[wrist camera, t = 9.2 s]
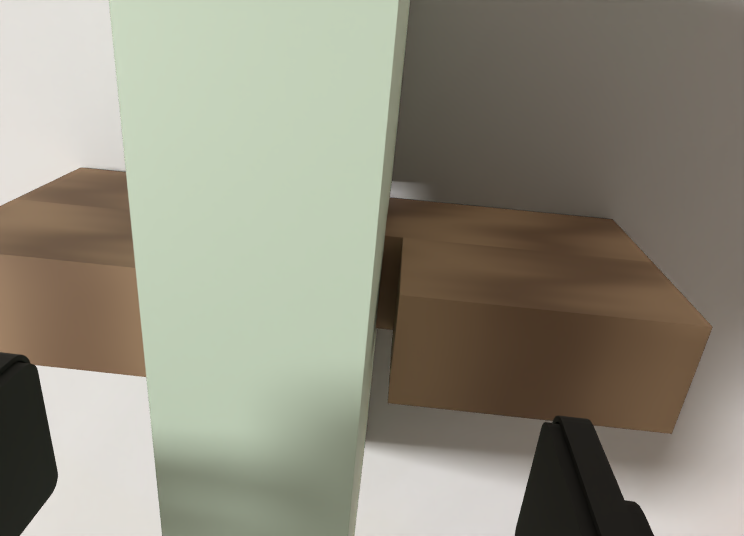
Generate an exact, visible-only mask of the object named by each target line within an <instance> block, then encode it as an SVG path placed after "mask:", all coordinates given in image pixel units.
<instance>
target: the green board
mask: <svg viewBox="0 0 744 536" xmlns="http://www.w3.org/2000/svg"><path fill="white" fill-rule="evenodd" d="M109 7H110V17H111V27H112V37H113V47H114V57H115V67H116V77H117V87H118V97H119V107H120V117H121V127H122V137H123V147H124V157H125V167H126V177H127V187H128V197H129V207H130V218H131V228H132V238H133V248H134V258H135V268H136V278H137V288H138V298H139V308H140V318H141V328H142V338H143V348H144V358H145V368H146V378H147V388H148V398H149V408H150V418H151V428H152V438H153V448H154V458H155V468H156V478H157V488H158V498H159V508H160V518H161V528H162V536H354V534H355V525H356V517H357V508H358V499H359V491H360V482H361V474H362V465H363V456H364V448H365V439H366V429H367V419H368V409H369V400H370V390H371V380H372V370H373V360H374V351H375V341H376V331H377V328H376V320H377V310H378V300H379V290H380V280H381V270H382V261H383V251H384V241H385V231H386V221H387V213H388V205H389V198H390V191H391V183H392V174H393V164H394V155H395V145H396V135H397V125H398V115H399V106H400V96H401V86H402V76H403V66H404V57H405V47H406V37H407V27H408V17H409V8H410V0H109Z"/></svg>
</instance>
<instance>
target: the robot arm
mask: <svg viewBox="0 0 744 536" xmlns="http://www.w3.org/2000/svg"><path fill="white" fill-rule="evenodd" d="M57 478H58V472H57V466H56V461H55V456H54V451H53V446H52V441H51V436H50V431H49V426H48V420H47V415H46V410H45V405H44V400H43V395H42V390H41V385H40V379H39V374H38V370H37V367H36V366H35V365H34V364H31V363H30V360H29V359H28V358H27V357H26V356H24V355H21V354H12V353H3V352H0V536H20V535H21V533H22V532H23V531H24V529H25V528H26V527H27V525H28V524H29V523H30V522H31V520H32V519H33V518H34V516H35V515H36V514H37V512H38V511H39V510H40V509H41V507H42V506H43V505H44V503H45V502H46V501H47V499H48V498H49V497H50V496H51V494H52V492H53V491H54V489H55V486H56V483H57ZM515 536H654V535H653V532H652V530H651V528H650V526H649V523H648V521H647V519H646V517H645V514H644V513H643V511H642V509H641V508H640V506H639V505H638V504H637V503H635V502H633V501H625V500H624V498H623V496H622V493H621V491H620V488H619V486H618V484H617V481H616V479H615V476H614V474H613V472H612V469H611V467H610V464H609V462H608V460H607V457H606V455H605V453H604V450H603V448H602V445H601V443H600V441H599V438H598V436H597V433H596V431H595V429H594V426H593V424H592V422H591V421H590V420H589V419H585V418H576V417H568V416H559V415H558V416H555V418H554V419H553V422H552V423H547V422H545V423H544V424H543V425H542V428H541V432H540V436H539V440H538V444H537V447H536V451H535V455H534V459H533V463H532V467H531V471H530V475H529V479H528V483H527V487H526V491H525V495H524V499H523V502H522V506H521V510H520V514H519V518H518V522H517V526H516V531H515Z"/></svg>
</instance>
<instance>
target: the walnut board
mask: <svg viewBox="0 0 744 536" xmlns="http://www.w3.org/2000/svg"><path fill="white" fill-rule="evenodd" d="M376 328H380V329H390V330H393V335H392V349H391V363H390V378H389V392H388V403H392V404H401V405H410V406H420V407H429V408H438V409H447V410H457V411H466V412H475V413H484V414H494V415H503V416H512V417H521V418H531V419H540V420H549V421H553V419H554V418H555V416H558V415H559V416H568V417H576V418H585V419H589V420H590V421H591V422H592V424H593V425H596V426H605V427H614V428H623V429H633V430H642V431H651V432H660V433H670V434H672V432H673V429H674V426H675V424H676V421H677V419H678V416H679V413H680V411H681V408H682V406H683V403H684V400H685V398H686V395H687V393H688V390H689V387H690V385H691V382H692V379H693V377H694V374H695V372H696V369H697V366H698V364H699V361H700V359H701V356H702V353H703V351H704V348H705V345H706V343H707V340H708V338H709V335H710V332H711V330H712V326H711V325H710V324H709V323H708V321H707V320H706V319H705V318H704V317H703V316H702V315H701V314H700V313H699V312H698V311H697V310H696V309H695V307H694V306H693V305H692V304H691V303H690V302H689V301H688V300H687V299H686V298H685V297H684V296H683V295H682V293H681V292H680V291H679V290H678V289H677V288H676V287H675V286H674V285H673V284H672V283H671V282H670V281H669V279H668V278H667V277H666V276H665V275H664V274H663V273H662V272H661V271H660V270H659V269H658V268H657V267H656V265H655V264H654V263H653V262H652V261H651V260H650V259H649V258H648V257H647V256H646V255H645V254H644V253H643V251H642V250H641V249H640V248H639V247H638V246H637V245H636V244H635V243H634V242H633V241H632V240H631V239H630V237H629V236H628V235H627V234H626V233H625V232H624V231H623V230H622V229H621V228H620V227H619V226H618V225H617V223H616V222H615V221H614V220H613V219H604V218H594V217H583V216H573V215H563V214H553V213H542V212H532V211H522V210H511V209H501V208H491V207H480V206H470V205H460V204H449V203H439V202H429V201H419V200H408V199H398V198H389V205H388V213H387V221H386V231H385V241H384V251H383V261H382V270H381V280H380V290H379V300H378V310H377V320H376ZM0 352H3V353H12V354H21V355H24V356H26V357H27V358H28V359H29V360H30V363H31V364H34V365H40V366H49V367H59V368H68V369H77V370H86V371H96V372H105V373H114V374H123V375H133V376H142V377H146V368H145V358H144V348H143V338H142V328H141V318H140V308H139V298H138V288H137V278H136V268H135V258H134V248H133V238H132V228H131V218H130V207H129V197H128V187H127V177H126V172H120V171H109V170H99V169H89V168H79V169H77V170H75V171H73V172H70V173H68V174H66V175H64V176H62V177H60V178H58V179H56V180H54V181H52V182H50V183H48V184H45V185H43V186H41V187H39V188H37V189H35V190H33V191H31V192H29V193H27V194H25V195H22V196H20V197H18V198H16V199H14V200H12V201H10V202H8V203H6V204H4V205H2V206H0Z"/></svg>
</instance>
